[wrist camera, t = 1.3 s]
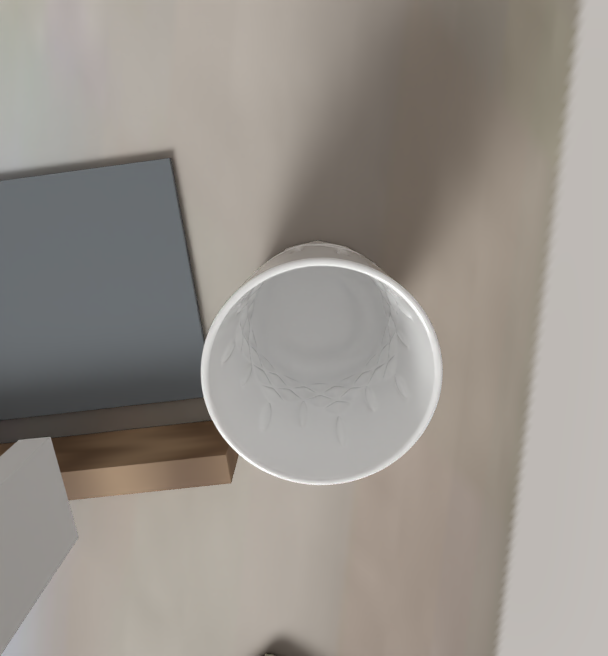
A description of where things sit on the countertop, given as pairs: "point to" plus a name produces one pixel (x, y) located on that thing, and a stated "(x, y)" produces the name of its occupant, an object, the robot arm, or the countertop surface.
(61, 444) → the corner walls
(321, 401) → the white cup
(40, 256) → the mat
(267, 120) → the countertop surface
